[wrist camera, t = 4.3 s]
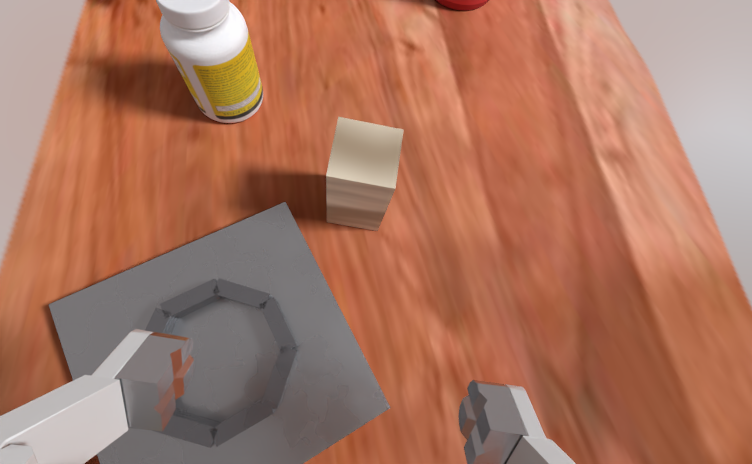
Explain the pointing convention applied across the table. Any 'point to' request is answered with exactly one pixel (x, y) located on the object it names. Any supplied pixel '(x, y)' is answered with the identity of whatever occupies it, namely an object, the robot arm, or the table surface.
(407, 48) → the table surface
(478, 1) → the canned food
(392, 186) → the birch block
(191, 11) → the supplement bottle
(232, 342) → the grey square socket board
